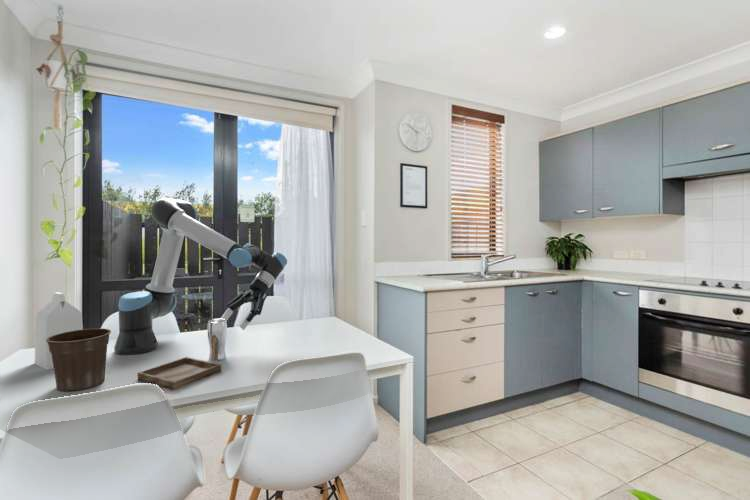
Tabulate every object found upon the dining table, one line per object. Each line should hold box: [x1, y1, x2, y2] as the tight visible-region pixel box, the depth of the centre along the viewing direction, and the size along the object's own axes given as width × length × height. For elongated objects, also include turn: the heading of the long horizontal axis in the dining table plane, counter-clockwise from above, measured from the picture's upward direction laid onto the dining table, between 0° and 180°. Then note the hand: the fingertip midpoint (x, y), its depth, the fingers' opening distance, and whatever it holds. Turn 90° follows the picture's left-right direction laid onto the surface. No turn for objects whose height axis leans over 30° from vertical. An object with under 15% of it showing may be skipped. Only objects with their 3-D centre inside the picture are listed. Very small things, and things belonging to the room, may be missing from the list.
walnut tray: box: [137, 356, 222, 391], centre depth 127 cm, size 18×18×2 cm
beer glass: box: [206, 318, 228, 362], centre depth 144 cm, size 7×7×15 cm
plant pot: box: [46, 327, 112, 392], centre depth 119 cm, size 16×16×16 cm
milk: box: [34, 291, 84, 371], centre depth 139 cm, size 12×12×26 cm
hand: (230, 325), depth 147 cm, fingers open, 13 cm apart
